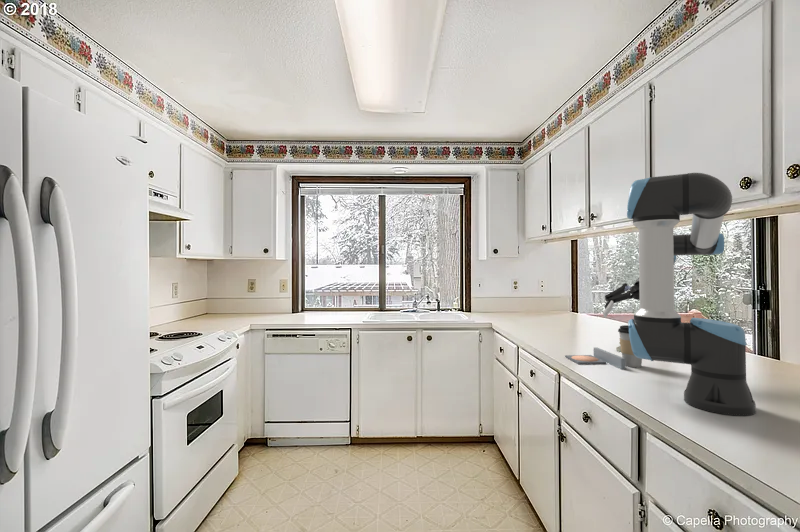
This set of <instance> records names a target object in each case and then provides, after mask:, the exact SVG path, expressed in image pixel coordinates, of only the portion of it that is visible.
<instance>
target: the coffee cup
mask: <svg viewBox="0 0 800 532" xmlns="http://www.w3.org/2000/svg"><path fill="white" fill-rule="evenodd" d="M617 332H618V333H619V342H620V343H619V346H621V353H620V354H621V357H623V358H625V367H627V366H628V367H629V368H635V367H637V368H641V367H642V362H643V359H640V358H637V357H636V356H635V355H634V354H633V351H632V347H631V343H630V337H629V326H628V324H627V325H626V324H625V325H619V328H618V329H617Z"/></svg>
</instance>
